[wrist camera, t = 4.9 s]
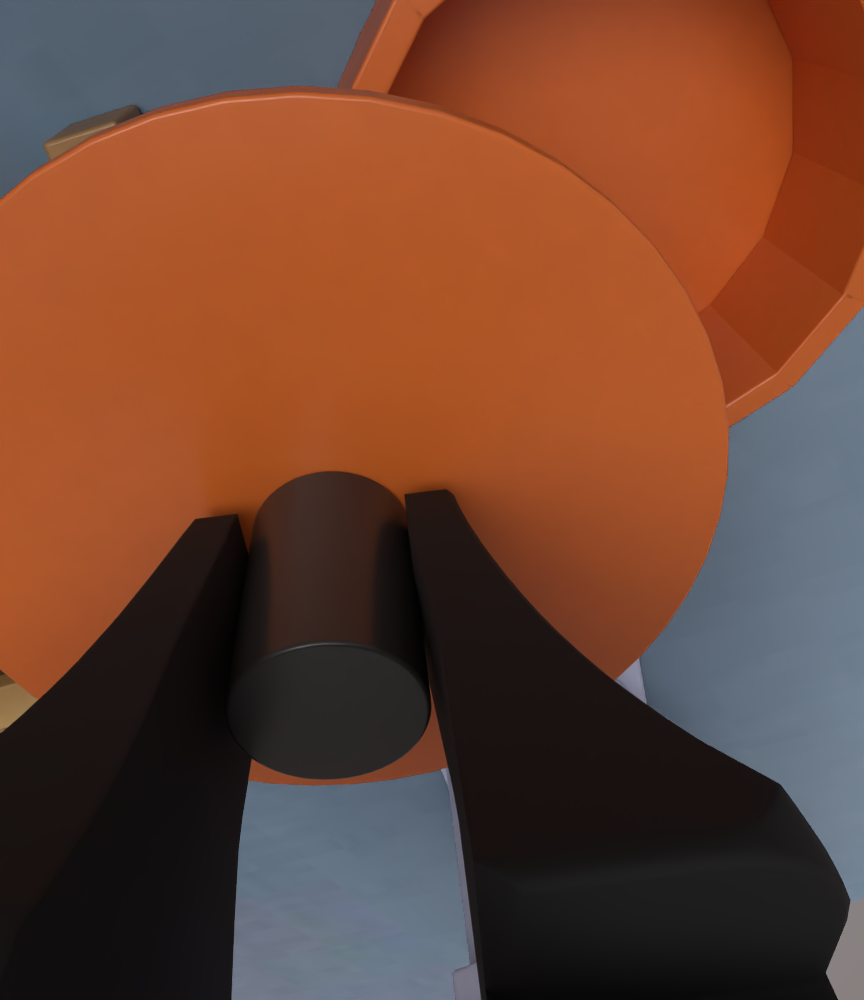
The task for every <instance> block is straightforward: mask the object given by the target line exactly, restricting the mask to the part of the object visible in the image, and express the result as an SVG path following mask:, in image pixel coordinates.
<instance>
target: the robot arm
mask: <svg viewBox="0 0 864 1000" xmlns="http://www.w3.org/2000/svg"><path fill="white" fill-rule="evenodd" d="M404 496H405V506H406V516H407V525H408V533H409V541H410V549H411V557H412V566H413V574H414V580H415V584H416V589H417V594H418V599H419V604H420V609H421V616H422V625H423V633H424V642H425V651H426V660H427V668H428V677H429V684H430V689H431V693H432V698H433V702H434V707H435V711H436V716H437V720H438V725H439V729H440V734H441V738H442V743H443V747H444V752H445V756H446V761H447V765H448V768H444V769H441V771H442V773H443V776H444V778H445V780H446V783H447V785H448V789H449V797H450V805H451V813H452V821H453V829H454V837H455V846H456V854H457V862H458V870H459V878H460V886H461V894H462V902H463V911H464V919H465V927H466V935H467V943H468V951H469V959H470V965H469V966H466V967H463V968H460V969H457V970H455V971H454V972H453V983H454V993H455V1000H838V999H837V997H836V995H835V993H834V990H833V988H832V986H831V984H830V982H829V979H828V977H827V975H826V970H827V968H828V965H829V963H830V960H831V958H832V955H833V953H834V951H835V948H836V946H837V943H838V941H839V938H840V936H841V934H842V931H843V928H844V926H845V924H846V921H847V917H848V911H849V905H850V898H849V896H848V893H847V891H846V888H845V886H844V883H843V881H842V879H841V877H840V875H839V873H838V871H837V869H836V867H835V865H834V863H833V861H832V859H831V858H830V856H829V854H828V852H827V851H826V849H825V847H824V846H823V844H822V843H821V841H820V840H819V838H818V837H817V835H816V834H815V832H814V831H813V829H812V828H811V826H810V825H809V823H808V822H807V821H806V819H805V818H804V816H803V815H802V813H801V812H800V811H799V809H798V808H797V806H796V805H795V804H794V802H793V801H792V799H791V798H790V797H789V795H788V794H787V793H786V791H785V790H784V789H783V787H782V786H781V785H780V784H779V783H777V782H775V781H773V780H771V779H770V778H768V777H766V776H764V775H762V774H760V773H759V772H757V771H755V770H753V769H751V768H749V767H748V766H746V765H744V764H742V763H740V762H738V761H737V760H735V759H733V758H731V757H729V756H727V755H726V754H724V753H722V752H720V751H718V750H716V749H715V748H713V747H711V746H709V745H707V744H705V743H704V742H702V741H700V740H699V739H697V738H695V737H694V736H692V735H691V734H689V733H688V732H686V731H685V730H683V729H681V728H680V727H678V726H677V725H675V724H674V723H672V722H671V721H669V720H667V719H666V718H665V717H663V716H662V715H660V714H659V713H658V712H656V711H655V710H654V709H652V708H651V707H650V706H648V705H647V702H646V696H645V690H644V684H643V679H642V673H641V667H640V661H639V659H637V660H636V661H635V662H634V663H633V664H632V665H631V666H630V667H629V668H628V669H627V670H626V671H625V672H624V673H623V674H621V675H620V676H619V677H618V678H617V679H616V680H615V681H614V680H613V679H611V678H610V677H609V676H608V675H607V674H605V673H604V672H603V671H602V670H601V669H599V668H598V667H597V666H596V665H595V664H594V663H592V662H591V661H590V660H589V659H588V658H586V657H585V656H584V655H583V654H582V653H581V652H580V651H578V650H577V649H576V648H575V647H574V646H573V645H572V644H571V643H570V642H569V641H568V640H566V639H565V638H564V637H563V636H562V635H561V634H560V633H559V632H558V631H557V630H556V629H555V628H554V627H553V626H552V625H551V624H550V623H549V622H548V621H547V620H546V619H545V618H544V617H543V616H542V615H541V614H540V613H539V612H538V611H537V609H536V608H535V607H534V606H533V605H532V604H531V603H530V602H529V601H528V600H527V599H526V597H525V596H524V595H523V594H522V593H521V592H520V591H519V590H518V588H517V587H516V586H515V585H514V584H513V582H512V581H511V580H510V579H509V578H508V576H507V575H506V574H505V573H504V571H503V570H502V569H501V567H500V566H499V565H498V564H497V562H496V561H495V560H494V558H493V557H492V556H491V555H490V553H489V552H488V551H487V549H486V548H485V546H484V545H483V544H482V542H481V541H480V539H479V538H478V536H477V535H476V533H475V532H474V530H473V529H472V527H471V526H470V524H469V522H468V521H467V519H466V517H465V516H464V514H463V512H462V510H461V508H460V507H459V505H458V503H457V500H456V498H455V495H454V494H452V493H451V492H450V491H448V490H447V489H443V490H434V491H426V492H417V493H409V494H404ZM248 555H249V554H248V551H247V547H246V543H245V540H244V536H243V532H242V529H241V525H240V521H239V518H238V514H231V515H223V516H214V517H206V518H198V519H195V520H194V521H193V522H192V523H191V525H190V526H189V527H188V528H187V530H186V531H185V532H184V533H183V534H182V536H181V537H180V538H179V540H178V541H177V542H176V543H175V545H174V546H173V547H172V549H171V550H170V551H169V553H168V554H167V555H166V556H165V558H164V559H163V560H162V562H161V563H160V564H159V566H158V567H157V568H156V569H155V571H154V572H153V573H152V575H151V576H150V577H149V578H148V580H147V581H146V582H145V583H144V585H143V586H142V587H141V588H140V590H139V591H138V592H137V593H136V595H135V596H134V597H133V598H132V599H131V601H130V602H129V603H128V604H127V606H126V607H125V608H124V609H123V610H122V612H121V613H120V614H119V615H118V617H117V618H116V619H115V620H114V621H113V622H112V624H111V625H110V626H109V627H108V628H107V629H106V630H105V631H104V632H103V634H102V635H101V636H100V637H99V638H98V639H97V640H96V641H95V642H94V644H93V645H92V646H91V647H90V648H89V649H88V650H87V651H86V652H85V654H84V655H83V656H82V657H81V658H80V659H79V660H78V661H77V662H76V663H75V664H74V665H73V666H72V667H71V668H70V669H69V670H68V672H67V673H66V674H65V675H64V676H63V677H61V678H60V679H59V680H58V681H57V682H56V683H55V684H54V685H53V686H52V687H51V688H50V689H49V690H48V691H47V692H46V693H45V694H44V695H43V696H42V697H41V698H40V699H38V700H37V701H36V702H35V703H34V704H33V705H32V706H31V707H30V708H29V709H28V710H27V711H25V712H24V713H23V714H22V715H21V716H20V717H19V718H18V719H17V720H16V721H14V722H13V723H12V724H11V725H10V726H9V727H8V728H6V729H5V730H4V731H3V732H1V733H0V1000H231V993H232V968H233V944H234V920H235V902H236V884H237V867H238V850H239V841H240V832H241V824H242V816H243V810H244V804H245V798H246V791H247V785H248V779H249V773H250V767H251V761H252V758H251V757H249V756H248V755H247V754H246V753H245V752H244V751H243V750H242V749H241V748H240V747H239V746H238V744H237V743H236V742H235V740H234V739H233V737H232V735H231V733H230V731H229V728H228V725H227V722H226V715H225V707H226V698H227V692H228V685H229V679H230V672H231V666H232V659H233V653H234V646H235V640H236V633H237V627H238V620H239V614H240V607H241V601H242V594H243V588H244V581H245V575H246V568H247V562H248Z"/></svg>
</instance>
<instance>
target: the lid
mask: <svg viewBox="0 0 864 1000" xmlns="http://www.w3.org/2000/svg"><path fill="white" fill-rule="evenodd" d="M728 441H729V426H728V419H727V411H726V404H725V396H724V389H723V382H722V379H721V375H720V372H719V369H718V365H717V362H716V359H715V356H714V352H713V349H712V346H711V342H710V339H709V336H708V334H707V332H706V330H705V328H704V326H703V324H702V322H701V320H700V317H699V315H698V313H697V311H696V309H695V307H694V305H693V303H692V301H691V299H690V297H689V295H688V293H687V291H686V289H685V288H684V286H683V285H682V283H681V282H680V281H679V279H678V278H677V276H676V275H675V274H674V272H673V271H672V269H671V268H670V267H669V265H668V264H667V262H666V261H665V259H664V258H663V257H662V255H661V254H660V252H659V251H658V250H657V248H656V247H655V245H654V244H653V243H652V242H651V241H650V240H649V239H648V238H647V237H646V236H645V235H644V234H643V233H642V232H641V231H640V230H639V229H638V228H637V227H636V226H635V225H634V224H633V223H632V222H631V221H630V220H629V218H628V217H627V216H626V215H625V214H624V213H623V212H622V211H621V210H620V209H619V208H618V207H617V206H616V205H615V204H614V203H613V202H612V201H611V200H610V199H609V198H608V197H607V196H606V195H605V194H603V193H602V192H601V191H599V190H598V189H597V188H595V187H594V186H593V185H591V184H590V183H589V182H587V181H586V180H585V179H584V178H582V177H581V176H580V175H578V174H577V173H576V172H574V171H573V170H572V169H570V168H569V167H568V166H566V165H565V164H564V163H562V162H561V161H560V160H558V159H557V158H555V157H553V156H552V155H550V154H548V153H546V152H544V151H542V150H541V149H539V148H537V147H535V146H533V145H531V144H529V143H528V142H526V141H524V140H522V139H520V138H518V137H517V136H515V135H513V134H511V133H509V132H507V131H506V130H504V129H502V128H500V127H497V126H494V125H492V124H489V123H486V122H484V121H481V120H478V119H475V118H473V117H470V116H467V115H464V114H462V113H459V112H456V111H454V110H451V109H448V108H445V107H443V106H440V105H437V104H432V103H428V102H423V101H418V100H413V99H409V98H404V97H399V96H394V95H390V94H385V93H380V92H375V91H371V90H358V89H343V88H327V87H312V86H289V87H276V88H264V89H252V90H239V91H228V92H224V93H219V94H215V95H211V96H206V97H202V98H198V99H193V100H189V101H185V102H180V103H176V104H172V105H167V106H163V107H159V108H157V109H154V110H152V111H149V112H147V113H144V114H142V115H139V116H137V117H134V118H132V119H129V120H127V121H124V122H122V123H119V124H117V125H114V126H112V127H109V128H107V129H104V130H102V131H99V132H97V133H95V134H94V135H92V136H90V137H89V138H87V139H85V140H84V141H82V142H80V143H78V144H77V145H75V146H73V147H72V148H70V149H68V150H67V151H65V152H63V153H62V154H60V155H58V156H57V157H55V158H53V159H52V160H50V161H48V162H47V163H45V164H43V165H42V166H40V167H39V168H38V169H36V170H35V171H34V172H32V173H31V174H30V175H29V176H27V177H26V178H25V179H24V180H23V181H22V182H20V183H19V184H18V185H17V186H16V187H14V188H13V189H12V190H11V191H10V192H8V193H7V194H6V195H5V196H4V197H3V198H1V199H0V670H1V671H3V672H4V673H5V674H6V675H7V676H9V677H10V678H11V679H12V680H14V681H15V682H16V683H17V684H18V685H20V686H21V687H22V688H23V689H24V690H26V691H27V692H28V693H29V694H30V695H32V696H33V697H35V698H36V699H40V698H41V697H42V696H43V695H44V694H45V693H46V692H47V691H48V690H49V689H50V688H51V687H52V686H53V685H54V684H55V683H56V682H57V681H58V680H59V679H60V678H61V677H63V676H64V675H65V674H66V673H67V672H68V670H69V669H70V668H71V667H72V666H73V665H74V664H75V663H76V662H77V661H78V660H79V659H80V658H81V657H82V656H83V655H84V654H85V652H86V651H87V650H88V649H89V648H90V647H91V646H92V645H93V644H94V642H95V641H96V640H97V639H98V638H99V637H100V636H101V635H102V634H103V632H104V631H105V630H106V629H107V628H108V627H109V626H110V625H111V624H112V622H113V621H114V620H115V619H116V618H117V617H118V615H119V614H120V613H121V612H122V610H123V609H124V608H125V607H126V606H127V604H128V603H129V602H130V601H131V599H132V598H133V597H134V596H135V595H136V593H137V592H138V591H139V590H140V588H141V587H142V586H143V585H144V583H145V582H146V581H147V580H148V578H149V577H150V576H151V575H152V573H153V572H154V571H155V569H156V568H157V567H158V566H159V564H160V563H161V562H162V560H163V559H164V558H165V556H166V555H167V554H168V553H169V551H170V550H171V549H172V547H173V546H174V545H175V543H176V542H177V541H178V540H179V538H180V537H181V536H182V534H183V533H184V532H185V531H186V530H187V528H188V527H189V526H190V525H191V523H192V522H193V521H194V520H195V519H198V518H206V517H214V516H223V515H231V514H238V518H239V521H240V525H241V529H242V532H243V536H244V540H245V543H246V547H247V551H248V554H249V555H248V562H247V568H246V575H245V581H244V588H243V594H242V601H241V607H240V614H239V620H238V627H237V633H236V640H235V646H234V653H233V659H232V666H231V672H230V679H229V685H228V692H227V698H226V707H225V715H226V722H227V725H228V728H229V731H230V733H231V735H232V737H233V739H234V740H235V742H236V743H237V744H238V746H239V747H240V748H241V749H242V750H243V751H244V752H245V753H246V754H247V755H248V756H249V757H251V758H252V761H251V767H250V773H249V779H248V781H256V782H263V783H272V784H292V785H342V784H359V783H367V782H376V781H385V780H394V779H399V778H404V777H409V776H414V775H419V774H424V773H429V772H434V771H437V770H441V769H444V768H448V765H447V761H446V756H445V752H444V747H443V743H442V738H441V734H440V729H439V725H438V720H437V716H436V711H435V707H434V702H433V698H432V693H431V689H430V684H429V677H428V668H427V660H426V651H425V642H424V633H423V625H422V616H421V609H420V604H419V599H418V594H417V589H416V584H415V580H414V574H413V566H412V557H411V549H410V541H409V533H408V525H407V516H406V506H405V496H404V494H409V493H417V492H426V491H434V490H443V489H447V490H448V491H450V492H451V493H452V494H454V495H455V498H456V500H457V503H458V505H459V507H460V508H461V510H462V512H463V514H464V516H465V517H466V519H467V521H468V522H469V524H470V526H471V527H472V529H473V530H474V532H475V533H476V535H477V536H478V538H479V539H480V541H481V542H482V544H483V545H484V546H485V548H486V549H487V551H488V552H489V553H490V555H491V556H492V557H493V558H494V560H495V561H496V562H497V564H498V565H499V566H500V567H501V569H502V570H503V571H504V573H505V574H506V575H507V576H508V578H509V579H510V580H511V581H512V582H513V584H514V585H515V586H516V587H517V588H518V590H519V591H520V592H521V593H522V594H523V595H524V596H525V597H526V599H527V600H528V601H529V602H530V603H531V604H532V605H533V606H534V607H535V608H536V609H537V611H538V612H539V613H540V614H541V615H542V616H543V617H544V618H545V619H546V620H547V621H548V622H549V623H550V624H551V625H552V626H553V627H554V628H555V629H556V630H557V631H558V632H559V633H560V634H561V635H562V636H563V637H564V638H565V639H566V640H568V641H569V642H570V643H571V644H572V645H573V646H574V647H575V648H576V649H577V650H578V651H580V652H581V653H582V654H583V655H584V656H585V657H586V658H588V659H589V660H590V661H591V662H592V663H594V664H595V665H596V666H597V667H598V668H599V669H601V670H602V671H603V672H604V673H605V674H607V675H608V676H609V677H610V678H611V679H613V680H614V681H615V680H616V679H617V678H618V677H619V676H620V675H621V674H623V673H624V672H625V671H626V670H627V669H628V668H629V667H630V666H631V665H632V664H633V663H634V662H635V661H636V660H637V659H639V658H640V657H641V656H642V654H643V653H644V652H645V651H646V650H647V648H648V647H649V646H650V645H651V644H652V643H653V641H654V640H655V639H656V638H657V637H658V636H659V634H660V633H661V632H662V631H663V630H664V629H665V627H666V626H667V625H668V623H669V622H670V620H671V619H672V617H673V616H674V614H675V613H676V611H677V610H678V608H679V607H680V605H681V604H682V602H683V601H684V599H685V598H686V596H687V595H688V593H689V591H690V589H691V587H692V585H693V583H694V581H695V579H696V577H697V575H698V573H699V571H700V569H701V567H702V565H703V563H704V561H705V559H706V557H707V554H708V551H709V548H710V545H711V542H712V539H713V536H714V533H715V530H716V527H717V524H718V521H719V518H720V514H721V509H722V503H723V498H724V492H725V486H726V481H727V475H728Z"/></svg>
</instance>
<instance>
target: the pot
mask: <svg viewBox="0 0 864 1000" xmlns="http://www.w3.org/2000/svg"><path fill="white" fill-rule="evenodd" d="M338 88H343V89H358V90H371V91H375V92H380V93H385V94H390V95H394V96H399V97H404V98H409V99H413V100H418V101H423V102H428V103H432V104H437V105H440V106H443V107H445V108H448V109H451V110H454V111H456V112H459V113H462V114H464V115H467V116H470V117H473V118H475V119H478V120H481V121H484V122H486V123H489V124H492V125H494V126H497V127H500V128H502V129H504V130H506V131H507V132H509V133H511V134H513V135H515V136H517V137H518V138H520V139H522V140H524V141H526V142H528V143H529V144H531V145H533V146H535V147H537V148H539V149H541V150H542V151H544V152H546V153H548V154H550V155H552V156H553V157H555V158H557V159H558V160H560V161H561V162H562V163H564V164H565V165H566V166H568V167H569V168H570V169H572V170H573V171H574V172H576V173H577V174H578V175H580V176H581V177H582V178H584V179H585V180H586V181H587V182H589V183H590V184H591V185H593V186H594V187H595V188H597V189H598V190H599V191H601V192H602V193H603V194H605V195H606V196H607V197H608V198H609V199H610V200H611V201H612V202H613V203H614V204H615V205H616V206H617V207H618V208H619V209H620V210H621V211H622V212H623V213H624V214H625V215H626V216H627V217H628V218H629V220H630V221H631V222H632V223H633V224H634V225H635V226H636V227H637V228H638V229H639V230H640V231H641V232H642V233H643V234H644V235H645V236H646V237H647V238H648V239H649V240H650V241H651V242H652V243H653V244H654V245H655V247H656V248H657V250H658V251H659V252H660V254H661V255H662V257H663V258H664V259H665V261H666V262H667V264H668V265H669V267H670V268H671V269H672V271H673V272H674V274H675V275H676V276H677V278H678V279H679V281H680V282H681V283H682V285H683V286H684V288H685V289H686V291H687V293H688V295H689V297H690V299H691V301H692V303H693V305H694V307H695V309H696V311H697V313H698V315H699V317H700V320H701V322H702V324H703V326H704V328H705V330H706V332H707V334H708V336H709V339H710V342H711V346H712V349H713V352H714V356H715V359H716V362H717V365H718V369H719V372H720V375H721V379H722V382H723V389H724V396H725V404H726V411H727V419H728V426H729V427H730V426H732V425H734V424H735V423H737V422H738V421H740V420H742V419H743V418H745V417H746V416H748V415H749V414H751V413H753V412H754V411H756V410H757V409H759V408H760V407H762V406H764V405H765V404H767V403H768V402H770V401H771V400H773V399H775V398H776V397H778V396H779V395H781V394H783V393H784V392H786V391H787V390H789V389H790V387H793V386H794V385H795V384H796V383H797V382H798V381H799V379H800V378H801V377H802V376H803V375H804V374H805V373H806V371H807V370H808V369H809V368H810V367H811V366H812V365H813V363H814V362H815V361H816V360H817V359H818V358H819V357H820V355H821V354H822V353H823V352H824V351H825V350H826V349H827V347H828V346H829V345H830V344H831V343H832V342H833V341H834V339H835V338H836V337H837V336H838V335H839V334H840V333H841V331H842V330H843V329H844V328H845V327H846V326H847V325H848V323H849V322H850V321H851V320H852V319H853V318H854V317H855V315H856V314H857V313H858V312H859V311H860V310H861V309H862V307H863V306H864V0H376V2H375V4H374V7H373V9H372V11H371V13H370V15H369V17H368V19H367V21H366V23H365V25H364V27H363V29H362V31H361V32H360V35H359V37H358V40H357V43H356V45H355V48H354V50H353V53H352V55H351V57H350V59H349V61H348V64H347V66H346V68H345V70H344V72H343V74H342V77H341V79H340V81H339V83H338Z"/></svg>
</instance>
